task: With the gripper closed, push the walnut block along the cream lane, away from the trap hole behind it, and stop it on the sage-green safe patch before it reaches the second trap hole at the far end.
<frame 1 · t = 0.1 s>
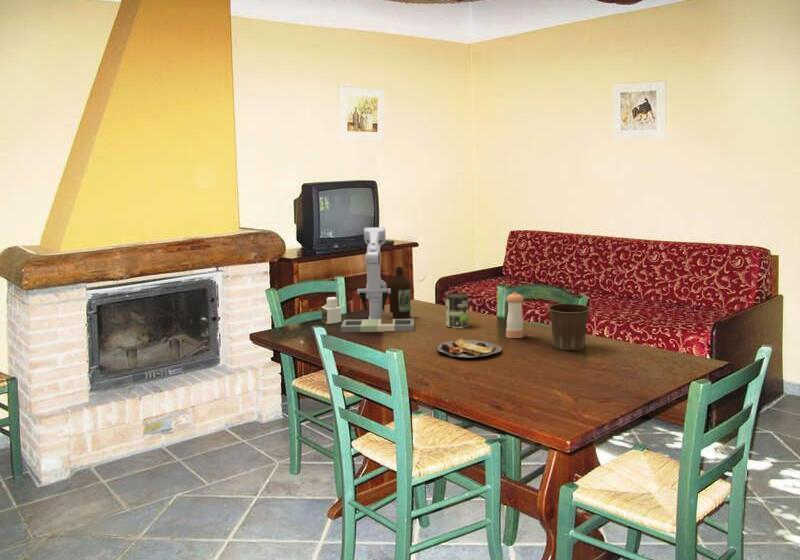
hand: (374, 309, 329), 10 cm above the table, tool pointing down, fingers open, 7 cm apart
olive oil: (400, 319, 357), on the table
plant pot: (568, 348, 299), on the table
trap lane: (378, 328, 338), on the table
coffee can: (457, 326, 339), on the table
medicine bottle: (331, 322, 353), on the table
food plate: (468, 353, 295), on the table
pepper shaker: (514, 337, 317), on the table
walnut block: (387, 322, 338), point 2 cm above the table, touching trap lane
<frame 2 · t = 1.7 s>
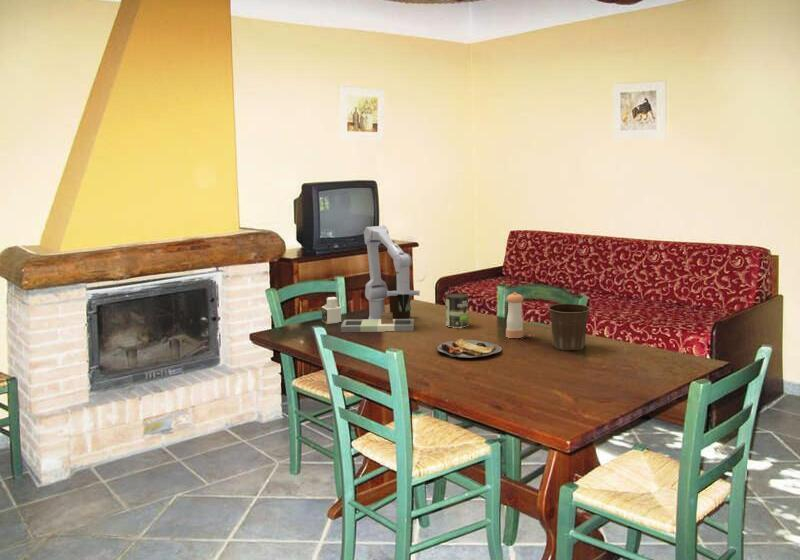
hand: (403, 311, 337), 7 cm above the table, tool pointing down, fingers closed
nothing on the table moved.
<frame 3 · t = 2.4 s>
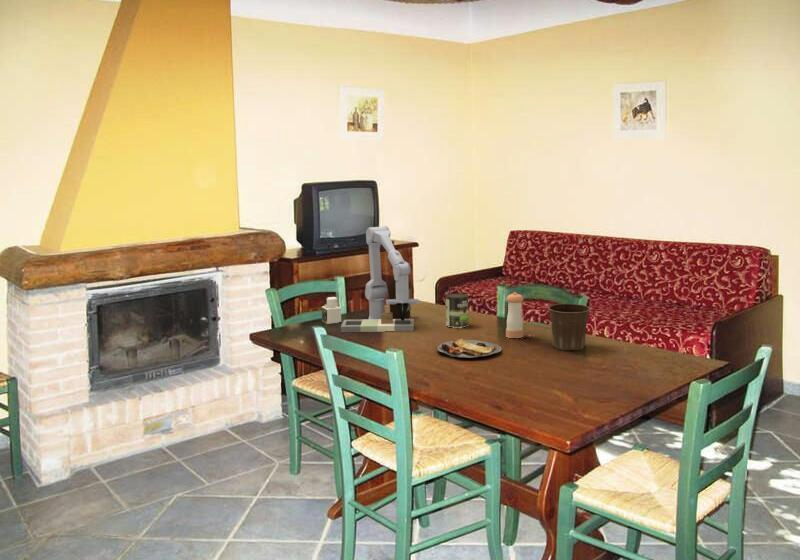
hand: (402, 319, 337), 4 cm above the table, tool pointing down, fingers closed
nothing on the table moved.
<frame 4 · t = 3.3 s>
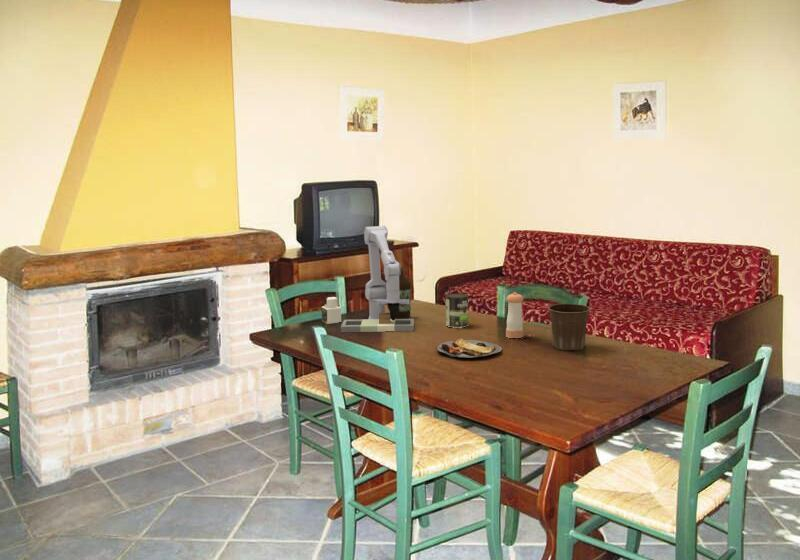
hand: (393, 320, 337), 4 cm above the table, tool pointing down, fingers closed
walnut block: (384, 322, 338), point 3 cm above the table, touching gripper
everything else where it was.
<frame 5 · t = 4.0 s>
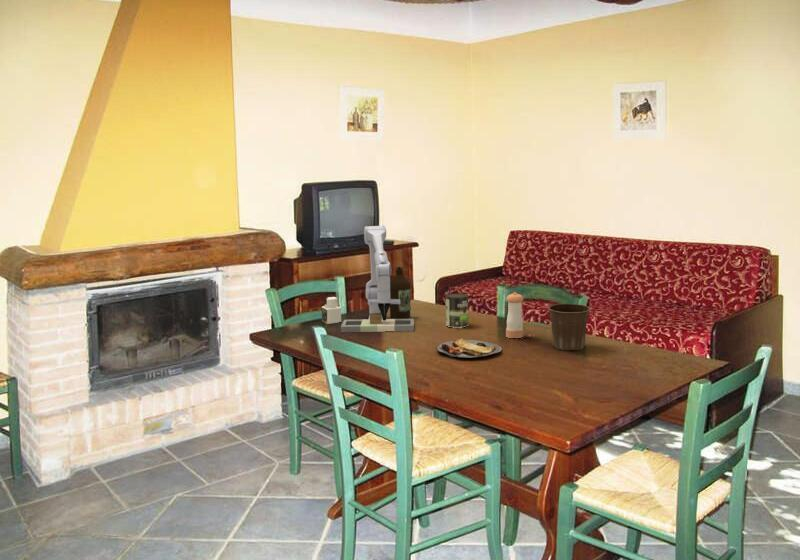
hand: (384, 320, 338), 4 cm above the table, tool pointing down, fingers closed
walnut block: (375, 322, 338), point 3 cm above the table, touching gripper, trap lane
everything else where it was.
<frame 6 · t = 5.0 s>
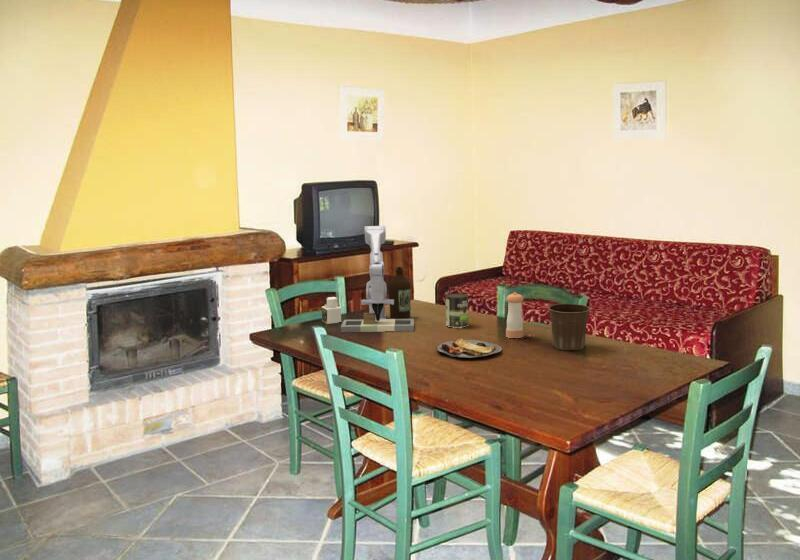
hand: (378, 320, 338), 4 cm above the table, tool pointing down, fingers closed
walnut block: (369, 322, 338), point 2 cm above the table, touching gripper, trap lane
everything else where it was.
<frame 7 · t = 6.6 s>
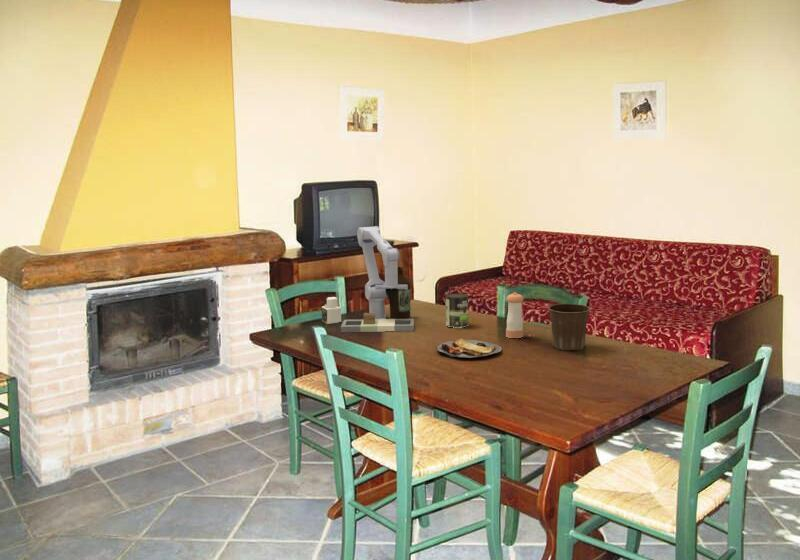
hand: (391, 305, 342), 9 cm above the table, tool pointing down, fingers closed
walnut block: (369, 322, 338), point 2 cm above the table, touching trap lane
everything else where it was.
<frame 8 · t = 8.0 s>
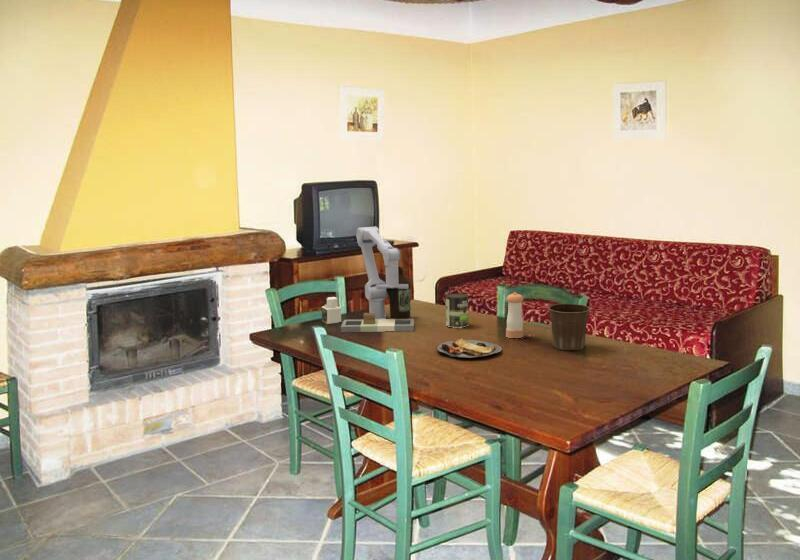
hand: (392, 304, 342), 9 cm above the table, tool pointing down, fingers closed
nothing on the table moved.
at the end: walnut block inside the target area on the trap lane (0.2 cm from its centre), point 2.5 cm above the trap lane's base; walnut block tilted 0°; walnut block moved 7.9 cm from its start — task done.
